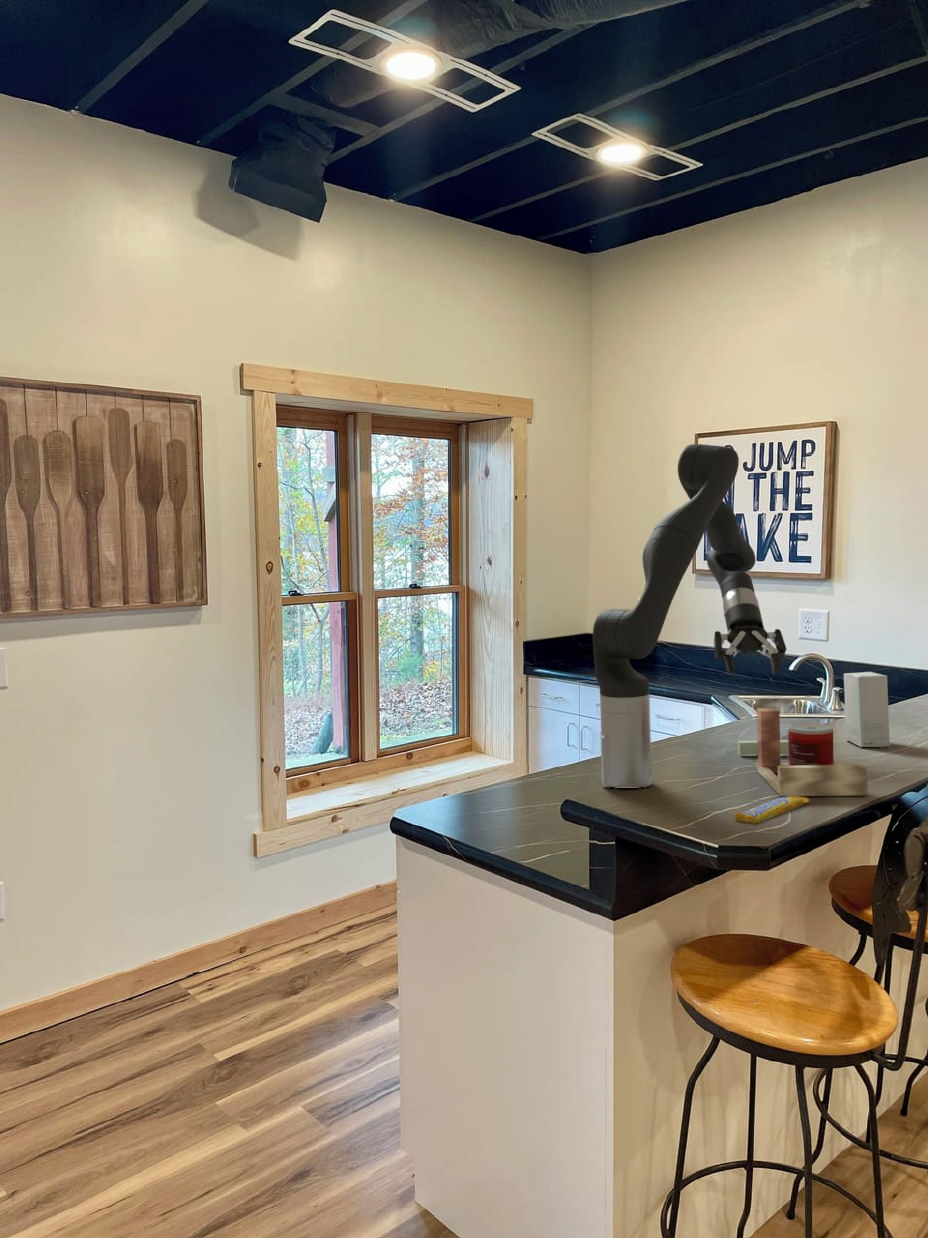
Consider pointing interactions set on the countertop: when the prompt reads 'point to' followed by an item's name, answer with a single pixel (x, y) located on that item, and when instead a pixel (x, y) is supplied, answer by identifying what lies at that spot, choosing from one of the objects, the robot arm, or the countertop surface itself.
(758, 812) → the candy bar
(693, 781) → the countertop surface
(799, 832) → the countertop surface
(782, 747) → the stop rail
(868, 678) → the skincare box
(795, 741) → the canned food
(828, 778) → the shallow wooden tray
